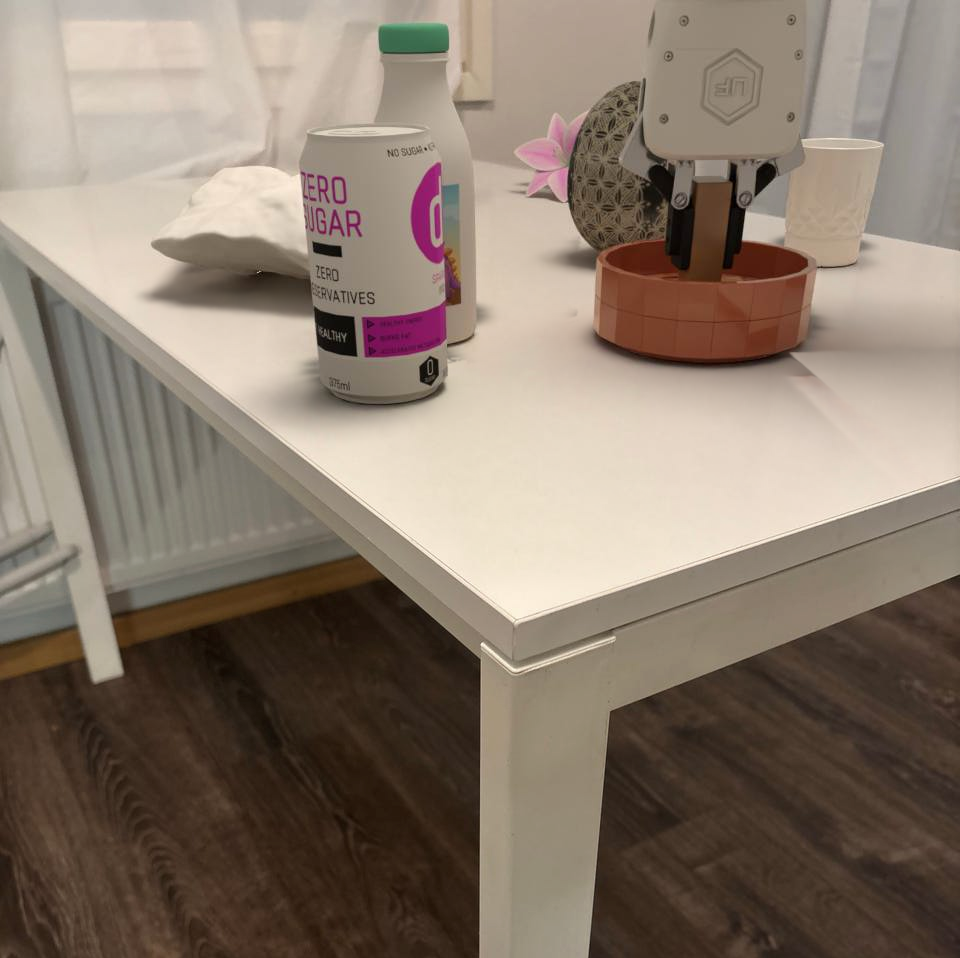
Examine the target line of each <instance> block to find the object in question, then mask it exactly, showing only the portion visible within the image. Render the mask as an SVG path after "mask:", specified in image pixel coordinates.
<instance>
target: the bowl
mask: <svg viewBox="0 0 960 958" xmlns="http://www.w3.org/2000/svg"><path fill="white" fill-rule="evenodd" d="M817 271H818V266H817V263H816V259H815V258H813V257H811V256H810V255H808V254H806V253H805V252H802V251H799V250H796V249H792V248H789V247H786V246H784V245H780V244H775V243H770V242H763V241H757V240H749V239H742V245H741V251H740V253H739V254H734V259H733V266H732V269H722V277H740V278H741V279H742V280H744V281H734V282H706V281H682V280H673V279H665V278H678V272H679V270H678V269H677V268H676V267H675V266H674V265H673V264H672V263H671V256H667V255H666V253H665V238H661V239H651V240H641V241H634V242H630V243H625V244H620V245H615V246H613V247H611V248H608V249H606V250H603V251H602V252H601V253H600V252H599V254H598V256H597V257H596V265H595V282H594V283H595V286H594V303H593V304H594V305H593V306H594V307H593V329H594V330H595V332H596V333H597V335H598V337H601V338H603V339H604V340H606V341H608V342H610V343H612V344H614V345H616V346H617V347H620V348H621V349H624V350H626V351H629V352H631V353H634V354H636V355H641V356H644V357H649V358H654V359H658V360H659V359H660V360H665V361H666V360H667V361H674V362H684V363H700V364H701V363H704V364H715V363H716V364H721V363H723V364H724V363H736V362H745V361H753V360H757V359H762V358H767V357H770V356H773V355H775V354H778V353H781V352H783V351H785V350H786V351H787V350H789V349H792V348H795V347H797V346H798V345H799V344H801V343H802V342H803V341H804V340H806V339H807V335H808V329H809V321H810V316H811V310H812V302H813V297H814V290H815V285H816V279H817V278H816V277H817Z"/></svg>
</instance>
